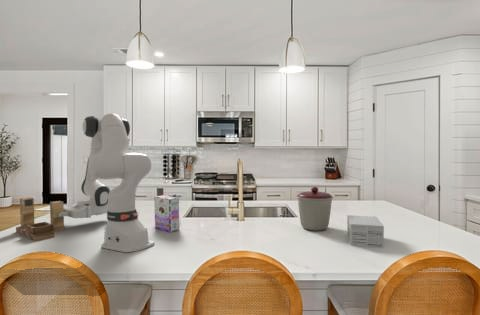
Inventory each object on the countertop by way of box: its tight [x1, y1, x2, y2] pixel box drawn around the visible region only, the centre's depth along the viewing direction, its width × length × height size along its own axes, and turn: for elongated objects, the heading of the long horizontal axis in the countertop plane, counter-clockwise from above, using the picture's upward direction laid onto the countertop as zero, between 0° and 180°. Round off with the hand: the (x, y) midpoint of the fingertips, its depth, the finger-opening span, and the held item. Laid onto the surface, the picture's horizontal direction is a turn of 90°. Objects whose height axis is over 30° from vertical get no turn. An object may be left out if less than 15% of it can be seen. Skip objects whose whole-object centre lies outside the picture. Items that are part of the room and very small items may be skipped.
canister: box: [296, 186, 334, 232], centre depth 158 cm, size 18×18×21 cm
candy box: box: [153, 194, 180, 233], centre depth 157 cm, size 14×6×16 cm, turn 47°
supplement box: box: [347, 214, 385, 249], centre depth 137 cm, size 17×13×9 cm
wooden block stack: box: [15, 196, 55, 242], centre depth 149 cm, size 24×8×16 cm, turn 52°
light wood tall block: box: [49, 200, 65, 232], centre depth 158 cm, size 5×4×14 cm
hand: (55, 214), depth 157 cm, fingers open, 5 cm apart
